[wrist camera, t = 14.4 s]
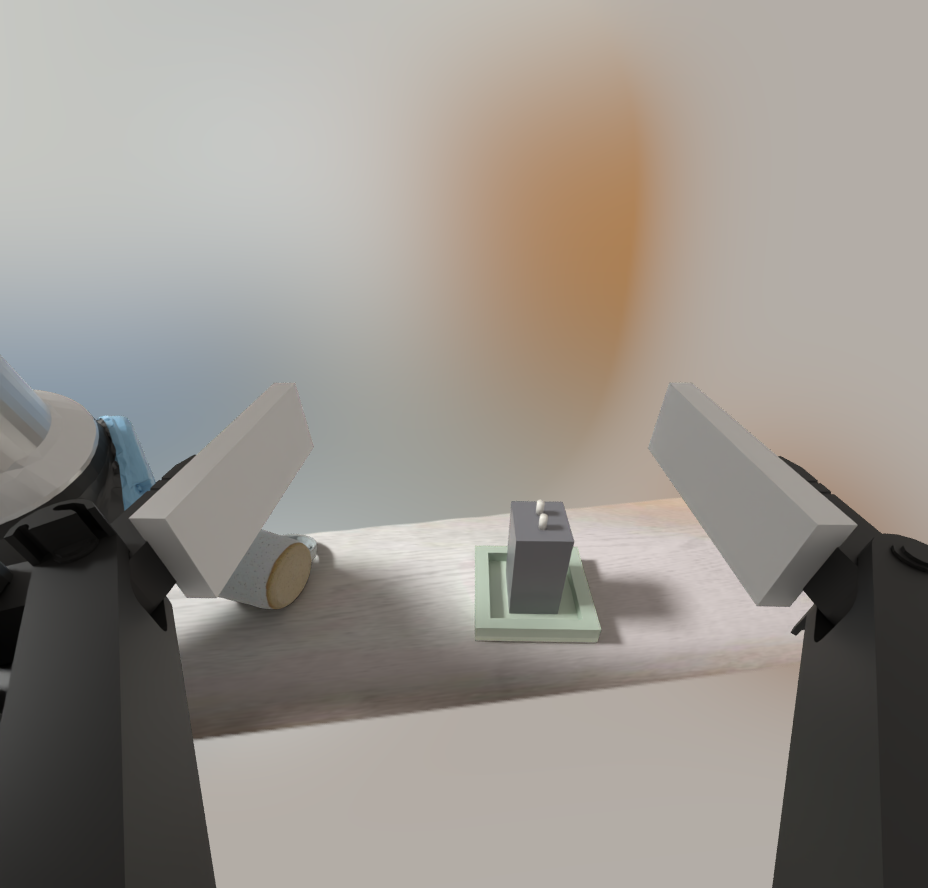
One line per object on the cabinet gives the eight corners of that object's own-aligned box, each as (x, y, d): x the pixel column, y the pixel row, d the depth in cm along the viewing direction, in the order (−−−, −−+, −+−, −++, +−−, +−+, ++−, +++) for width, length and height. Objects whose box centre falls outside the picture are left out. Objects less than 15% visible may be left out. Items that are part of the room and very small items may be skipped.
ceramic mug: (283, 627, 38) (260, 580, 34) (216, 610, 40) (187, 563, 35) (336, 549, 47) (323, 503, 42) (279, 538, 48) (262, 493, 44)
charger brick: (509, 613, 38) (517, 529, 31) (505, 572, 42) (512, 490, 35) (557, 614, 38) (576, 530, 31) (549, 573, 42) (564, 490, 35)
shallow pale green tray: (475, 640, 37) (475, 627, 35) (475, 558, 45) (475, 545, 44) (596, 642, 36) (601, 629, 35) (574, 559, 44) (577, 546, 43)
